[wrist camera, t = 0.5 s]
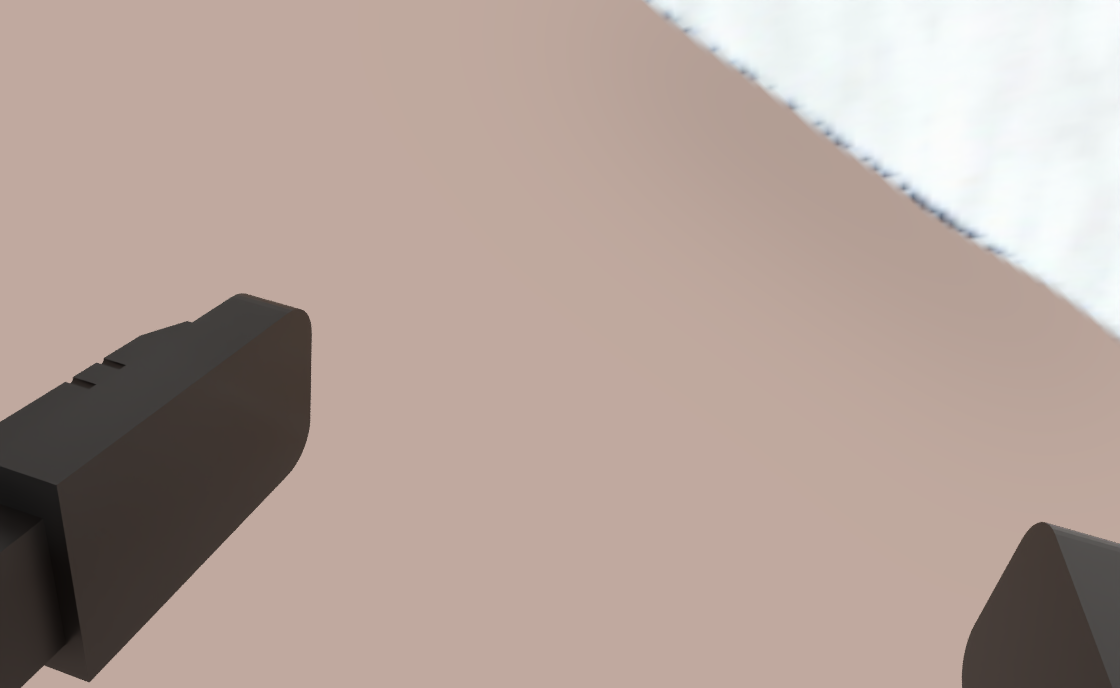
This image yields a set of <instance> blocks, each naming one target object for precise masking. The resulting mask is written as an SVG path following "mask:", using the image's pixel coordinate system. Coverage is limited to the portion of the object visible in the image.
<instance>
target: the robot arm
mask: <svg viewBox="0 0 1120 688" xmlns="http://www.w3.org/2000/svg"><path fill="white" fill-rule="evenodd" d="M311 338H312V333H311V322H310V319H309V316H308V315H307V313H306V312H305V311H303V310H301V309H298V308H294V307H291V306H287V305H283V304H280V303H276V302H273V301H269V300H265V299H262V298H259V297H255V296H252V295H248V294H237V295H235V296H233V297H231V298H230V299H228V300H226V301H225V302H223V303H222V304H221V305H219V306H217V307H216V308H214V309H212V310H211V311H209V312H208V313H206V314H205V315H203V316H202V317H200V318H198V319H197V320H196V321H194V322H188V321H186V322H183V323H180V324H177V325H173V326H170V327H167V328H164V329H160V330H157V331H154V332H151V333H148V334H144V335H141V336H139V337H138V338H136V339H134V340H133V341H131V342H129V343H128V344H126V345H124V346H123V347H121V348H120V349H118V350H116V351H115V352H113V353H111V354H110V355H108V356H107V357H105V358H104V361H103V363H102V364H99V363H95V364H94V365H92V366H90V367H89V368H87V369H85V370H84V371H82V372H81V373H79V374H77V375H76V376H74V377H73V381H72V382H71V383H67V382H64V383H63V384H61V385H60V386H58V387H57V388H55V389H53V390H51V391H50V392H48V393H46V394H45V395H43V396H42V397H40V398H39V399H37V400H35V401H34V402H32V403H30V404H29V405H27V406H25V407H24V408H22V409H21V410H19V411H17V412H16V413H14V414H13V415H11V416H9V417H7V418H6V419H4V420H3V421H1V422H0V688H21V687H22V686H23V685H24V684H25V683H26V682H27V681H28V680H29V679H30V678H31V677H32V676H33V675H34V674H35V673H36V672H37V671H39V669H41V668H42V667H43V666H44V665H45V666H47V667H50V668H53V669H56V670H58V671H61V672H63V673H66V674H69V675H71V676H74V677H76V678H79V679H82V680H84V681H87V682H90V681H91V680H92V679H93V678H94V677H95V676H96V675H97V674H98V673H99V672H100V671H101V670H102V668H104V667H105V665H106V664H107V663H108V662H109V661H110V660H111V659H112V658H113V657H114V656H115V655H116V654H117V653H118V652H119V651H120V650H121V649H122V648H123V647H124V646H125V645H126V644H127V643H128V641H129V640H130V639H131V638H132V637H133V636H134V635H135V634H136V633H137V632H138V631H139V630H140V629H141V628H142V627H143V626H144V625H145V624H146V623H147V622H148V621H149V620H150V618H151V617H152V616H153V615H154V614H155V613H156V612H157V611H158V610H159V609H160V608H161V607H162V606H163V605H164V604H165V603H166V602H167V601H168V600H169V599H170V597H172V595H173V594H174V593H175V592H176V591H177V590H178V589H179V588H180V587H181V586H182V585H183V584H184V583H185V582H186V581H187V580H188V579H189V578H190V577H191V576H192V574H193V573H194V572H195V571H196V570H197V569H198V568H199V567H200V566H201V565H202V564H203V563H204V562H205V561H206V560H207V559H208V558H209V557H210V556H211V555H212V554H213V553H214V551H215V550H217V548H218V547H219V546H220V545H221V544H222V543H223V542H224V541H225V540H226V539H227V538H228V537H229V536H230V535H231V534H232V533H233V532H234V531H235V530H236V529H237V528H238V527H239V525H240V524H241V523H242V522H243V521H244V520H245V519H246V518H247V517H248V516H249V515H250V514H251V513H252V512H253V511H254V510H255V509H256V508H257V507H258V506H259V505H260V504H261V502H262V501H263V500H264V499H265V498H266V497H267V496H268V495H269V494H270V493H271V492H272V491H273V490H274V489H275V488H276V487H277V486H278V485H279V484H280V483H281V482H282V480H284V478H285V477H286V476H287V475H288V474H289V473H290V472H291V471H292V469H293V468H294V466H295V465H296V463H297V462H298V460H299V458H300V456H301V454H302V452H303V449H304V447H305V444H306V441H307V437H308V433H309V427H310V400H311V341H312V339H311ZM962 688H1120V544H1119V543H1116V542H1112V541H1108V540H1105V539H1102V538H1098V537H1094V536H1091V535H1088V534H1084V533H1080V532H1077V531H1073V530H1070V529H1066V528H1063V527H1059V526H1056V525H1052V524H1048V523H1045V522H1040V523H1037V524H1035V525H1033V526H1032V527H1031V528H1030V529H1029V530H1028V531H1027V533H1026V534H1025V535H1024V537H1023V539H1022V540H1021V542H1020V544H1019V546H1018V548H1017V549H1016V551H1015V553H1014V555H1013V556H1012V558H1011V560H1010V562H1009V564H1008V565H1007V567H1006V569H1005V571H1004V573H1003V574H1002V576H1001V578H1000V580H999V582H998V583H997V585H996V587H995V589H994V591H993V593H992V594H991V596H990V598H989V600H988V602H987V603H986V605H985V607H984V609H983V611H982V612H981V614H980V616H979V618H978V620H977V621H976V623H975V625H974V627H973V629H972V631H971V634H970V636H969V639H968V642H967V646H966V650H965V654H964V660H963V669H962Z"/></svg>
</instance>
